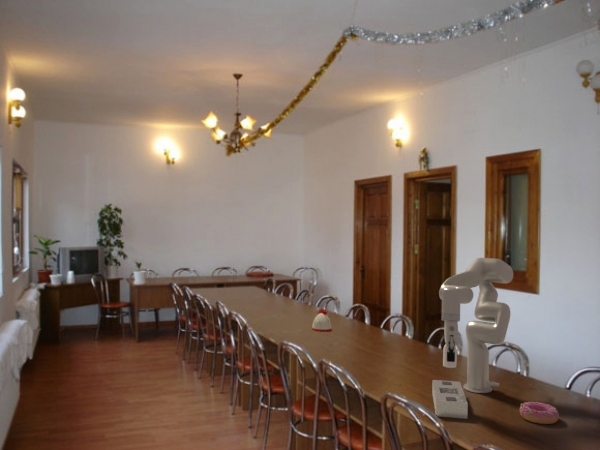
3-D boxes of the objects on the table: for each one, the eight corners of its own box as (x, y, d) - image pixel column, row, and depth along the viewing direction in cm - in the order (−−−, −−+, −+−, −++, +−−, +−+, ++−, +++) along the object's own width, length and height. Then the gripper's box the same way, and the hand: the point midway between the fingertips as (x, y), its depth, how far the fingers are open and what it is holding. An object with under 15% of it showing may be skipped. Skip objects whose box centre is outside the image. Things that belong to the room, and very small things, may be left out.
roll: (447, 335, 234) (459, 337, 230) (447, 363, 234) (459, 366, 230) (441, 337, 229) (453, 340, 225) (440, 366, 229) (452, 368, 226)
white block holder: (459, 395, 243) (460, 381, 243) (467, 418, 214) (467, 403, 214) (432, 393, 246) (432, 379, 246) (436, 416, 216) (436, 400, 216)
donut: (547, 412, 223) (547, 400, 223) (565, 425, 209) (566, 412, 209) (513, 412, 223) (513, 400, 223) (529, 425, 208) (529, 412, 208)
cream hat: (325, 332, 377) (325, 311, 377) (308, 330, 384) (308, 309, 384) (335, 329, 389) (335, 308, 389) (318, 327, 396) (318, 306, 396)
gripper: (462, 321, 220) (461, 365, 221) (457, 313, 237) (457, 355, 237) (443, 320, 222) (442, 364, 222) (440, 313, 239) (439, 354, 239)
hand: (450, 359), depth 230 cm, fingers closed on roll, 5 cm apart
